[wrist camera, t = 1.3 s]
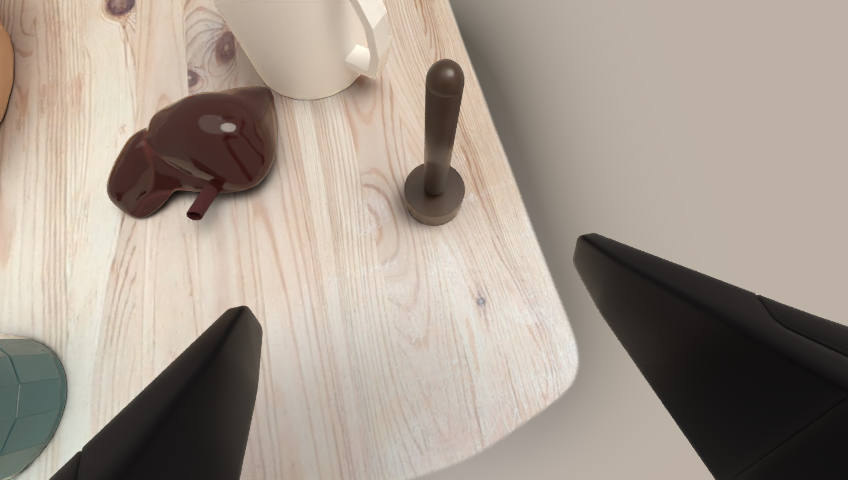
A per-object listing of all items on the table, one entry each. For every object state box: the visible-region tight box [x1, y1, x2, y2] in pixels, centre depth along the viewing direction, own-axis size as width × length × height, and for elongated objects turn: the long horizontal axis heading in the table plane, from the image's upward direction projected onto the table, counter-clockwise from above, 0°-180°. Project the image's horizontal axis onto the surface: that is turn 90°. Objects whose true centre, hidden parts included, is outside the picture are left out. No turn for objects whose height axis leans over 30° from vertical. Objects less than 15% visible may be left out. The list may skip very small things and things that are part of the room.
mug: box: [212, 0, 391, 100], centre depth 23 cm, size 14×10×11 cm
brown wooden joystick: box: [405, 59, 465, 225], centre depth 18 cm, size 4×4×13 cm
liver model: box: [107, 86, 277, 220], centre depth 23 cm, size 6×12×11 cm
